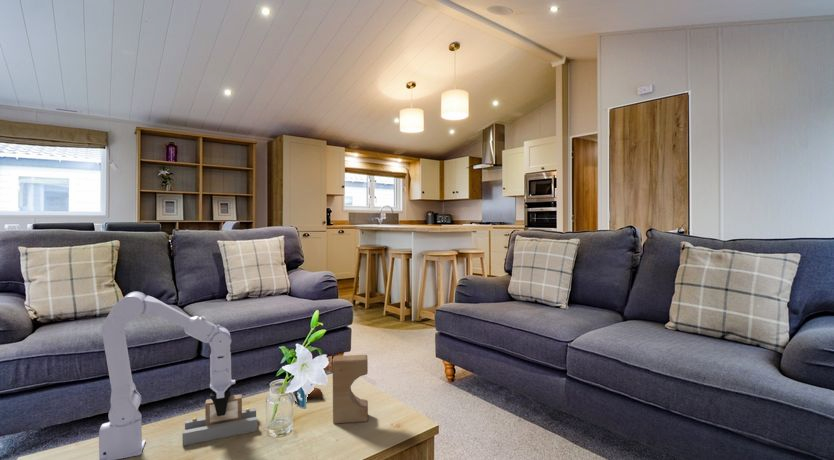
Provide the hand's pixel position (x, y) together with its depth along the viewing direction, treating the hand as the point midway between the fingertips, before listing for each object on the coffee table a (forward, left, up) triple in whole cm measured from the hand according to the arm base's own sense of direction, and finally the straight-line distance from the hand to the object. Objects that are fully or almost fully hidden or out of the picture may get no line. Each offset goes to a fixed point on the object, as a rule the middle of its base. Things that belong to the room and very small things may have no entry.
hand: (221, 412), depth 125 cm
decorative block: (+38, -9, -6) cm, 40 cm away
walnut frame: (+1, 0, -3) cm, 3 cm away
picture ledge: (0, 0, -6) cm, 6 cm away
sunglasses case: (+25, +15, -6) cm, 30 cm away
